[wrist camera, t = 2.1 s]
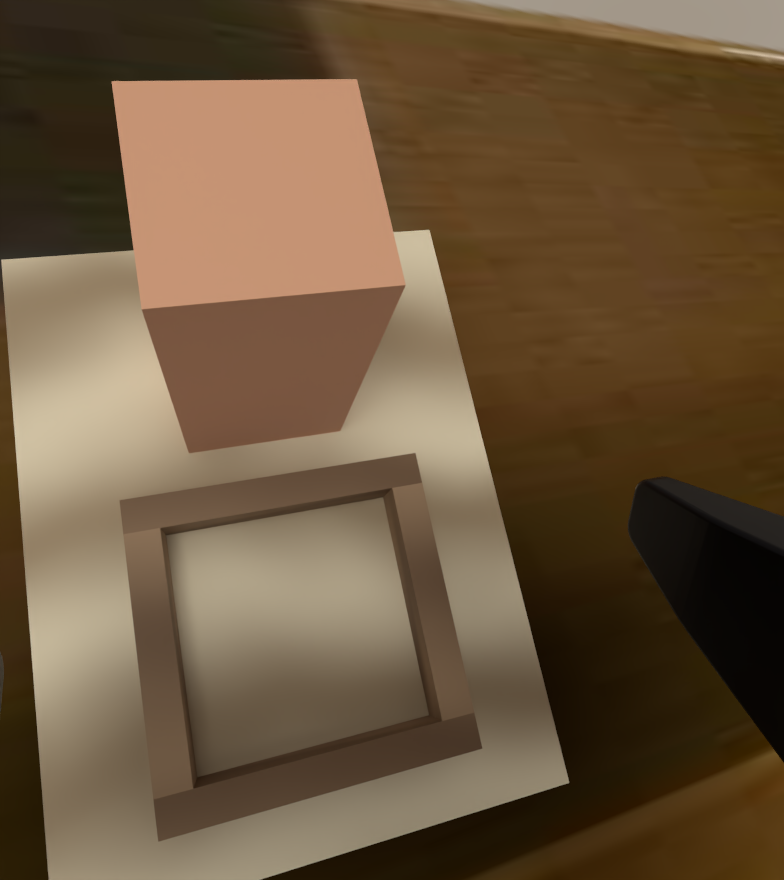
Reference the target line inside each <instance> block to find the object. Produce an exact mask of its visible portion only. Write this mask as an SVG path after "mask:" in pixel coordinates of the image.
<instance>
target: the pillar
mask: <svg viewBox="0 0 784 880" xmlns="http://www.w3.org/2000/svg"><path fill="white" fill-rule="evenodd" d="M112 87H113V95H114V102H115V110H116V118H117V125H118V133H119V141H120V148H121V156H122V164H123V171H124V179H125V187H126V194H127V202H128V209H129V217H130V225H131V232H132V240H133V248H134V255H135V263H136V271H137V278H138V286H139V294H140V301H141V309H142V312H143V315H144V318H145V321H146V324H147V327H148V330H149V334H150V337H151V340H152V343H153V346H154V349H155V352H156V355H157V358H158V361H159V364H160V367H161V370H162V373H163V376H164V379H165V382H166V385H167V388H168V391H169V394H170V398H171V401H172V404H173V407H174V410H175V413H176V416H177V419H178V422H179V425H180V428H181V431H182V434H183V437H184V440H185V443H186V446H187V449H188V452H189V453H195V452H202V451H209V450H215V449H222V448H229V447H236V446H243V445H249V444H256V443H263V442H270V441H277V440H283V439H290V438H297V437H304V436H311V435H318V434H324V433H331V432H338V431H340V430H341V428H342V426H343V424H344V422H345V419H346V417H347V415H348V413H349V410H350V408H351V406H352V404H353V402H354V399H355V397H356V395H357V393H358V390H359V388H360V386H361V384H362V381H363V379H364V377H365V375H366V373H367V370H368V368H369V366H370V364H371V361H372V359H373V357H374V355H375V353H376V350H377V348H378V346H379V344H380V341H381V339H382V337H383V335H384V333H385V330H386V328H387V326H388V324H389V321H390V319H391V317H392V315H393V312H394V310H395V308H396V306H397V304H398V301H399V299H400V297H401V295H402V292H403V290H404V288H405V286H406V284H405V279H404V275H403V271H402V267H401V263H400V258H399V254H398V250H397V246H396V242H395V237H394V233H393V229H392V225H391V221H390V217H389V212H388V208H387V204H386V200H385V196H384V191H383V187H382V183H381V179H380V175H379V170H378V166H377V162H376V158H375V154H374V149H373V145H372V141H371V137H370V133H369V128H368V124H367V120H366V116H365V112H364V107H363V103H362V99H361V95H360V91H359V86H358V82H357V79H326V80H212V81H112Z"/></svg>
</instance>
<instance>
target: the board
mask: <svg viewBox="0 0 784 880" xmlns="http://www.w3.org/2000/svg"><path fill="white" fill-rule="evenodd" d="M393 233H394V237H395V242H396V246H397V250H398V254H399V258H400V263H401V267H402V271H403V275H404V279H405V284H406V286H405V288H404V290H403V292H402V295H401V297H400V299H399V301H398V304H397V306H396V308H395V310H394V312H393V315H392V317H391V319H390V321H389V324H388V326H387V328H386V330H385V333H384V335H383V337H382V339H381V341H380V344H379V346H378V348H377V350H376V353H375V355H374V357H373V359H372V361H371V364H370V366H369V368H368V370H367V373H366V375H365V377H364V379H363V381H362V384H361V386H360V388H359V390H358V393H357V395H356V397H355V399H354V402H353V404H352V406H351V408H350V410H349V413H348V415H347V417H346V419H345V422H344V424H343V426H342V428H341V430H340V431H338V432H331V433H324V434H318V435H311V436H304V437H297V438H290V439H283V440H277V441H270V442H263V443H256V444H249V445H243V446H236V447H229V448H222V449H215V450H209V451H202V452H195V453H189V452H188V449H187V446H186V443H185V440H184V437H183V434H182V431H181V428H180V425H179V422H178V419H177V416H176V413H175V410H174V407H173V404H172V401H171V398H170V394H169V391H168V388H167V385H166V382H165V379H164V376H163V373H162V370H161V367H160V364H159V361H158V358H157V355H156V352H155V349H154V346H153V343H152V340H151V337H150V334H149V330H148V327H147V324H146V321H145V318H144V315H143V312H142V309H141V301H140V294H139V286H138V278H137V271H136V263H135V255H134V251H121V252H107V253H93V254H78V255H64V256H50V257H36V258H21V259H7V260H1V261H2V274H3V287H4V300H5V313H6V326H7V339H8V352H9V365H10V378H11V391H12V404H13V417H14V430H15V444H16V457H17V470H18V483H19V496H20V509H21V522H22V535H23V548H24V561H25V574H26V587H27V600H28V613H29V627H30V640H31V653H32V666H33V679H34V692H35V705H36V718H37V731H38V744H39V757H40V770H41V783H42V796H43V809H44V823H45V836H46V849H47V862H48V875H49V880H261V879H264V878H267V877H270V876H273V875H277V874H280V873H283V872H286V871H289V870H293V869H296V868H299V867H302V866H305V865H308V864H312V863H315V862H318V861H321V860H324V859H328V858H331V857H334V856H337V855H340V854H344V853H347V852H350V851H353V850H356V849H360V848H363V847H366V846H369V845H372V844H376V843H379V842H382V841H385V840H388V839H392V838H395V837H398V836H401V835H404V834H408V833H411V832H414V831H417V830H420V829H424V828H427V827H430V826H433V825H436V824H439V823H443V822H446V821H449V820H452V819H455V818H459V817H462V816H465V815H468V814H471V813H475V812H478V811H481V810H484V809H487V808H491V807H494V806H497V805H500V804H503V803H507V802H510V801H513V800H516V799H519V798H523V797H526V796H529V795H532V794H535V793H539V792H542V791H545V790H548V789H551V788H554V787H558V786H561V785H564V784H567V783H569V779H568V775H567V771H566V767H565V764H564V760H563V756H562V752H561V748H560V744H559V740H558V736H557V732H556V728H555V724H554V720H553V716H552V712H551V708H550V704H549V700H548V696H547V692H546V689H545V685H544V681H543V677H542V673H541V669H540V665H539V661H538V657H537V653H536V649H535V645H534V641H533V637H532V633H531V629H530V625H529V621H528V617H527V614H526V610H525V606H524V602H523V598H522V594H521V590H520V586H519V582H518V578H517V574H516V570H515V566H514V562H513V558H512V554H511V550H510V546H509V542H508V539H507V535H506V531H505V527H504V523H503V519H502V515H501V511H500V507H499V503H498V499H497V495H496V491H495V487H494V483H493V479H492V475H491V471H490V467H489V464H488V460H487V456H486V452H485V448H484V444H483V440H482V436H481V432H480V428H479V424H478V420H477V416H476V412H475V408H474V404H473V400H472V396H471V392H470V389H469V385H468V381H467V377H466V373H465V369H464V365H463V361H462V357H461V353H460V349H459V345H458V341H457V337H456V333H455V329H454V325H453V321H452V317H451V314H450V310H449V306H448V302H447V298H446V294H445V290H444V286H443V282H442V278H441V274H440V270H439V266H438V262H437V258H436V254H435V250H434V246H433V242H432V239H431V235H430V231H429V230H420V231H405V232H393Z"/></svg>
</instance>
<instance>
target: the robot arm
mask: <svg viewBox="0 0 784 880" xmlns="http://www.w3.org/2000/svg"><path fill="white" fill-rule="evenodd" d="M628 532H629V536H630V538H631V541H632V542H633V544H634V546H635V547H636V549H637V551H638V552H639V554H640V556H641V558H642V559H643V561H644V563H645V564H646V566H647V568H648V569H649V571H650V573H651V574H652V576H653V578H654V579H655V581H656V583H657V584H658V586H659V588H660V589H661V591H662V593H663V594H664V596H665V598H666V599H667V601H668V603H669V605H670V606H671V608H672V609H673V611H674V613H675V614H676V616H677V617H678V619H679V620H680V622H681V623H682V625H683V626H684V628H685V629H686V631H687V632H688V633H689V635H690V636H691V638H692V639H693V640H694V642H695V643H696V644H697V646H698V647H699V648H700V650H701V651H702V652H703V654H704V655H705V657H706V658H707V659H708V661H709V662H710V663H711V665H712V666H713V667H714V669H715V670H716V671H717V673H718V674H719V675H720V677H721V678H722V680H723V681H724V682H725V684H726V685H727V686H728V688H729V689H730V690H731V692H732V693H733V694H734V696H735V697H736V699H737V700H738V701H739V703H740V704H741V705H742V707H743V708H744V709H745V711H746V712H747V713H748V715H749V716H750V717H751V719H752V720H753V722H754V723H755V724H756V726H757V727H758V728H759V730H760V731H761V732H762V734H763V735H764V736H765V738H766V739H767V741H768V742H769V743H770V745H771V746H772V747H773V749H774V750H775V751H776V753H777V754H778V755H779V757H780V758H781V759H782V761H783V762H784V517H783V516H780V515H777V514H774V513H772V512H769V511H766V510H763V509H760V508H757V507H754V506H751V505H748V504H745V503H742V502H739V501H736V500H734V499H731V498H728V497H725V496H722V495H719V494H716V493H713V492H710V491H707V490H704V489H701V488H698V487H696V486H693V485H690V484H687V483H684V482H681V481H678V480H675V479H672V478H669V477H657V478H651V479H646V480H643V481H641V482H639V484H638V485H637V486H636V489H635V493H634V498H633V502H632V507H631V511H630V516H629V521H628ZM3 677H4V667H3V660H2V656H1V653H0V710H1V699H2V688H3Z"/></svg>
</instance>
